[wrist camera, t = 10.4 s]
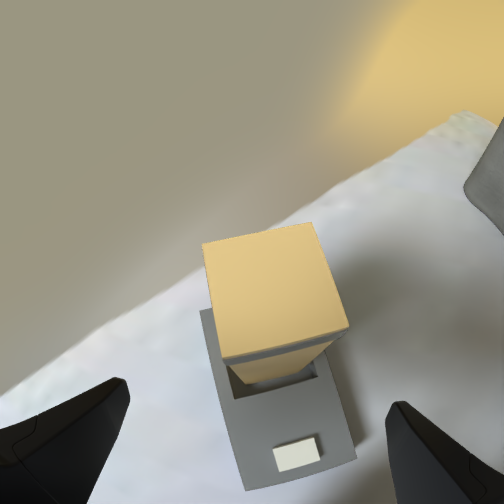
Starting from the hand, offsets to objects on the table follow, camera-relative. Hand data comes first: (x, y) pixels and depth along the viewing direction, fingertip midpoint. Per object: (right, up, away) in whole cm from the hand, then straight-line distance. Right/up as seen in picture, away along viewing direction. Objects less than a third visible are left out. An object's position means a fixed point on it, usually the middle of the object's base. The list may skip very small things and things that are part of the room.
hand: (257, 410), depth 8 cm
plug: (+1, -3, +13) cm, 14 cm away
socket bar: (+2, -6, +12) cm, 14 cm away
